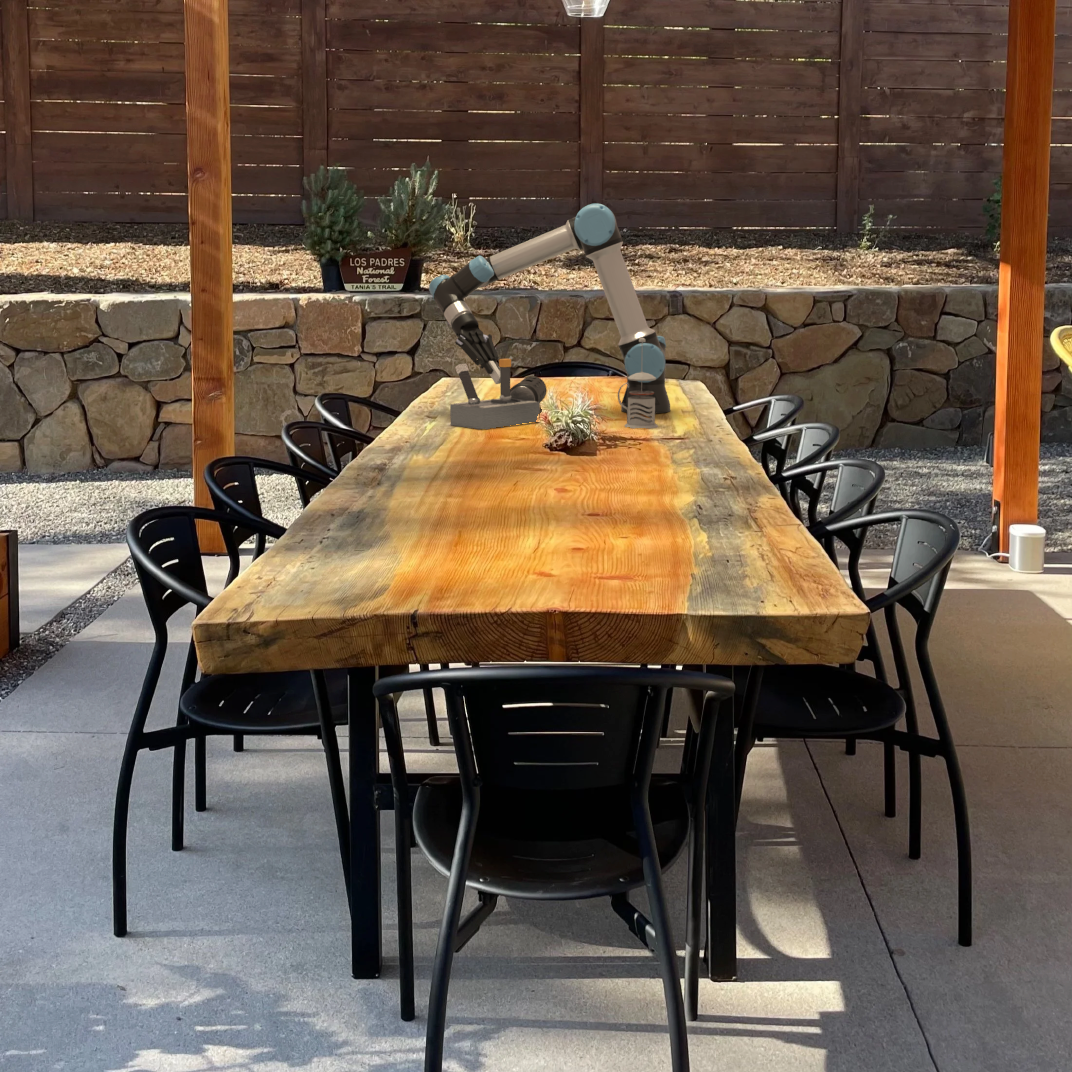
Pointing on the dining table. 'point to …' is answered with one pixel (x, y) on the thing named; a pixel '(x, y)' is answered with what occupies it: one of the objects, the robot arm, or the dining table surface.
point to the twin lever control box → (489, 408)
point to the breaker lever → (505, 379)
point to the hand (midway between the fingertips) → (499, 380)
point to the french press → (640, 402)
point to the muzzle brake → (529, 389)
